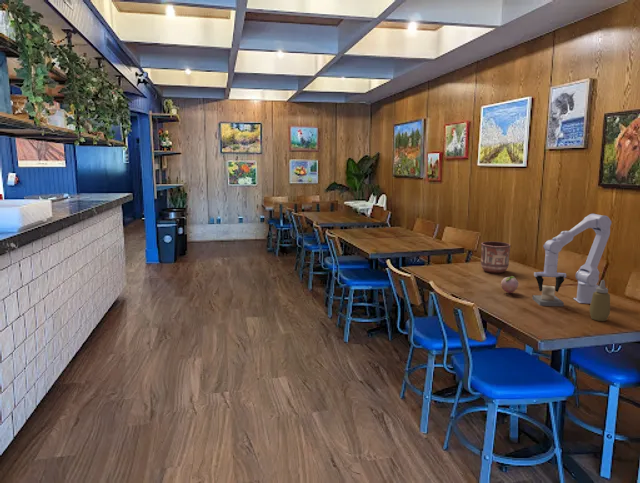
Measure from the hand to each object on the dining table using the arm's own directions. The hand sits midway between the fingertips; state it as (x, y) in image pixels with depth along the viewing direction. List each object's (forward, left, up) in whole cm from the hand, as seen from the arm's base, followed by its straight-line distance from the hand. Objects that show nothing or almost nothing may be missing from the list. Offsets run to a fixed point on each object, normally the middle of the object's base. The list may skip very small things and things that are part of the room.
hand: (548, 291), depth 229 cm
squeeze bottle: (-14, +23, -6) cm, 28 cm away
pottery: (+11, -64, -6) cm, 65 cm away
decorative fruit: (+15, -14, -6) cm, 21 cm away
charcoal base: (0, 0, -6) cm, 6 cm away
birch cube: (0, 0, -4) cm, 4 cm away
